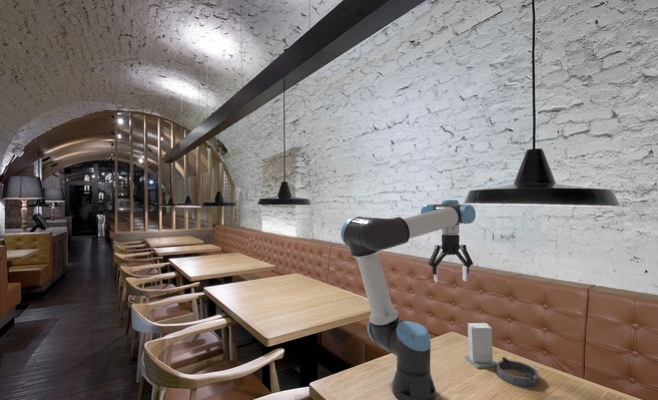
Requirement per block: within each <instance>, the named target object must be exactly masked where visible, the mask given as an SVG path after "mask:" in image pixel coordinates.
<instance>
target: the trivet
mask: <svg viewBox="0 0 658 400" xmlns="http://www.w3.org/2000/svg"><path fill="white" fill-rule="evenodd" d="M464 359H466V361H468V362H469V363H471V365H472V366H474V367H475V368H476V369H488V368H496V363H497V362H495V361H494V360H493V363H484V362H473V361H472V360H471V358H470V357H469V354H467V355H465V356H464Z"/></svg>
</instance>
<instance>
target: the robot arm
mask: <svg viewBox="0 0 658 400" xmlns="http://www.w3.org/2000/svg"><path fill="white" fill-rule="evenodd" d="M476 216H477V215H476V209H475V207H474V206H473V205H471V204H465V203H464V204H460V202H459V200H457V199H443V200H441V203H440V204H434V203H433V204H431V203H429V204H424V205H423V206H422V207H421V208H420V213H419V214H416V215H413V216H412V215H411V216H408V217H404V218H403V217H401V216H398V217H391V218H381V217H380V218H379V217H370V216H369V217H367V216H366V217H365V216H361V215H360V216H354V217H353V216H352V217H350V218H348V219H346V221H344V223H343V225H342V228H341V230H340V235H341V236H340V237H341V240H342V241H343V243H344V244H345V245H346V246H348V247H349V251H350V254H351V257H353V258H355V259H356V260H357V263H358V264H357V265H358V269H359V272H360V276H361V278H362V282H363V287H364V289H365V294H366V297H367V301H368V304H369V309H370V311H371V314H369V319H368V324H367V327H366V328H367V334H368V336H369V338H370V339H371V341H373V342H374V344H376V345H377V346H379V347H381V348H382V349H385V350H386V351H388V352H389V353H391V354H392V355H393V356H396V371H395V373H394V376H393V380H392V381H391V391H392V394H393V396H394V397H395V398H396V399H397V400H436V396H437V395H436V393H437V391H436V387H435V383H434V380H433V377H432V374H431V344H432V343H431V336H430V332H429V330H428V329H427V328H426V327H425V326H424V325H422V324H420V323H418V322H413V321H411V320H410V321H409V320H404V321H403V320H402V321H401V318H400V314H399V312H398V310H397V309H395V308H394V307H393V303H392V299H391V296H390V293H389V288H388V284H387V280H386V277H385V273H384V269H383V266H382V262H381V258H380V255H379V253H380V251H383V250H389V249H392V248H395V247H397V246H401V245H404V244H407V243H408V242H409V240H410V239H414V238H417V237H421V236H424V235H426V234H430V233H434V232H436V231H440V230H441V233H442V234H441V245H439V244H435V245H434V250H433V252H432V254H431V256H430V259H429V261H428V263H427V265H428V266H430V267H432V271H431V272H432V275H433V282H435V283H439V282H440V281H439V267H438V266H439V265H440V263H442V262H443V259H444V258H445V257H446V256H447V255H448V256H451V255H452V256H456V257H457V258H458V259H459V261H460V262H461V263H462V281H464V282H468V274H469V273H470V267H471V266H473V265H474V262H473V260H472V258H471V255H470V254H469V252H468V250H467V245H466V244H462V243H461V244H460V235H459V234H460V224H463V225H466V224H467V225H470V224H472V223H473V222H475V220H476ZM460 250H461V252H462V253H461V252H460ZM440 251H441V252H440Z"/></svg>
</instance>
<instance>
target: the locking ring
mask: <svg viewBox="0 0 658 400" xmlns="http://www.w3.org/2000/svg"><path fill="white" fill-rule="evenodd" d="M495 363H496V367H495V371H496V372H495V373H496V375H497V377H498V378H499V379H500V380H502V381H503V382H505V383H507V384H510V385H513V386H515V387H520V388H521V387H522V388H536V387H537V386H538V385H539V384H540V374H539V372H538V370H537V369H536V368H534V367H533V366H531V365H529V364H527V363H524V362H522V361H518V360H510V359H508V358H507V357H505V356H503V357H502V359H501V360H500V361H497V362H495ZM505 370H516V371H520V372H523V373H525V377H522V376H516V375H513V374H511V373H508V372H506V371H505Z"/></svg>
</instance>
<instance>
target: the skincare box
mask: <svg viewBox="0 0 658 400" xmlns="http://www.w3.org/2000/svg"><path fill="white" fill-rule="evenodd" d="M492 330H493V328H492V327H491V326H490V325H489V323H487V322H467V338H468V340H467V343H468V344H467V345H468V355H469V357H470V358H471V360H472V361H473V362H484V363H493V361H494V360H493V359H494V358H493V331H492Z"/></svg>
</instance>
